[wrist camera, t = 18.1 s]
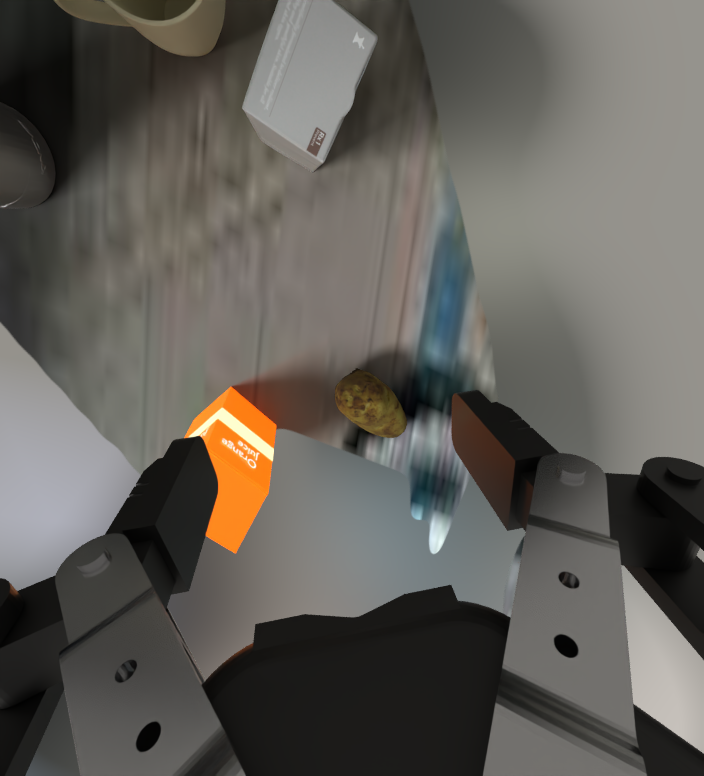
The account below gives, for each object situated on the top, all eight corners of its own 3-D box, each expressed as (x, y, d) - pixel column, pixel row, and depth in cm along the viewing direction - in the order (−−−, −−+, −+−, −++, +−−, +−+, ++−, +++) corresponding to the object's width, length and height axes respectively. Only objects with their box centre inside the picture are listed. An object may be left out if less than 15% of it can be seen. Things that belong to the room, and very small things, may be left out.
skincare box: (289, 53, 35) (281, -59, 20) (353, 100, 37) (386, 28, 23) (256, 144, 37) (228, 100, 23) (317, 182, 40) (326, 164, 25)
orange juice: (231, 385, 49) (190, 484, 31) (277, 425, 52) (265, 533, 34) (192, 419, 50) (132, 532, 32) (240, 455, 54) (209, 575, 36)
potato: (355, 438, 55) (362, 472, 48) (324, 368, 49) (328, 393, 42) (405, 420, 55) (420, 451, 48) (380, 346, 49) (394, 369, 42)
